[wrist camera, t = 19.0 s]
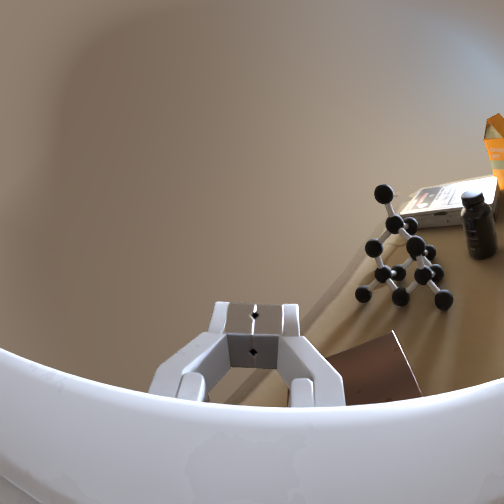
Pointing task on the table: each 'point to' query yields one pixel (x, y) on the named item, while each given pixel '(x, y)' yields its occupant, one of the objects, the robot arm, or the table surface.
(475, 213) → the supplement bottle
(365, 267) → the table surface
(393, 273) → the molecular model
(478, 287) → the table surface
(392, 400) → the lid
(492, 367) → the table surface
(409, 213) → the hard drive
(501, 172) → the orange juice
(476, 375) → the table surface
